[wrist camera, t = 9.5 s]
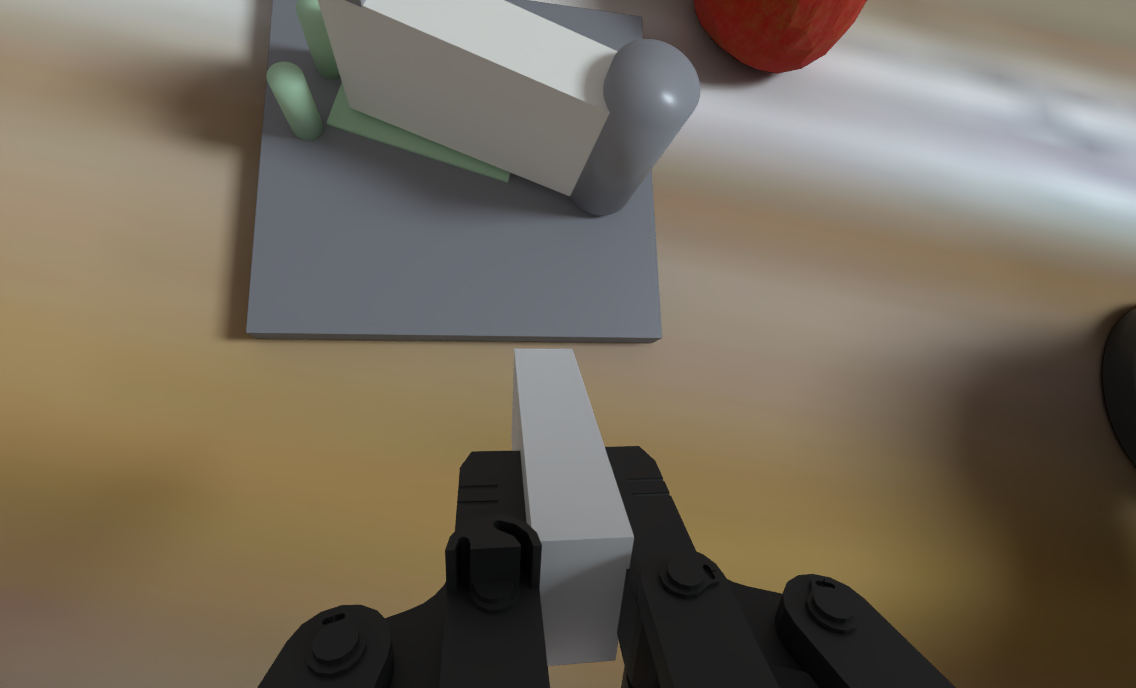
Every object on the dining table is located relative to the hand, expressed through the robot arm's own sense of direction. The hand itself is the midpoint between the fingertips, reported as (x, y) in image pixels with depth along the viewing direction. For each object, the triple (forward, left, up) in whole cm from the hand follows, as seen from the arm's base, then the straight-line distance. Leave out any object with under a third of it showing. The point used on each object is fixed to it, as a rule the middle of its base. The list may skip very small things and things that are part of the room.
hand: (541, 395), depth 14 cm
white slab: (0, -15, -14) cm, 21 cm away
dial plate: (+1, -15, -16) cm, 22 cm away
